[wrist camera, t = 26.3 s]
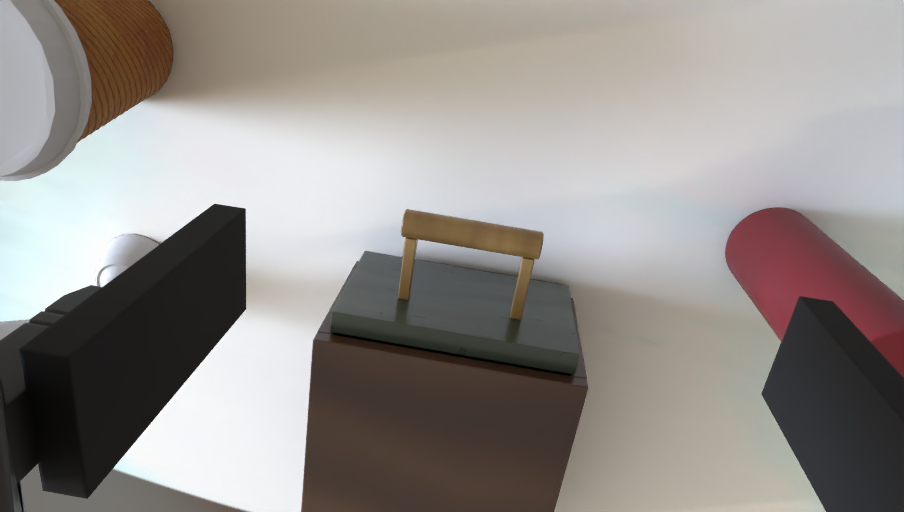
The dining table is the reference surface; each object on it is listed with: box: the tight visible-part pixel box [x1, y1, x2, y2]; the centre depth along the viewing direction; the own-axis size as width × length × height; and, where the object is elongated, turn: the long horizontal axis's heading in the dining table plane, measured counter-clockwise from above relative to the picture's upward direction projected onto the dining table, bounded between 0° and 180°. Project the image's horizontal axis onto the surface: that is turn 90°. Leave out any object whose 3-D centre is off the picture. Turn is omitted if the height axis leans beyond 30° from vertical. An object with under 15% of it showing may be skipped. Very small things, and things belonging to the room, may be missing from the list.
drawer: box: [330, 209, 580, 374], centre depth 38 cm, size 22×12×8 cm, turn 172°
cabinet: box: [301, 261, 588, 512], centre depth 40 cm, size 19×14×10 cm
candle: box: [725, 208, 904, 378], centre depth 32 cm, size 5×5×14 cm
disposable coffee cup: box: [0, 0, 173, 181], centre depth 31 cm, size 10×10×12 cm
